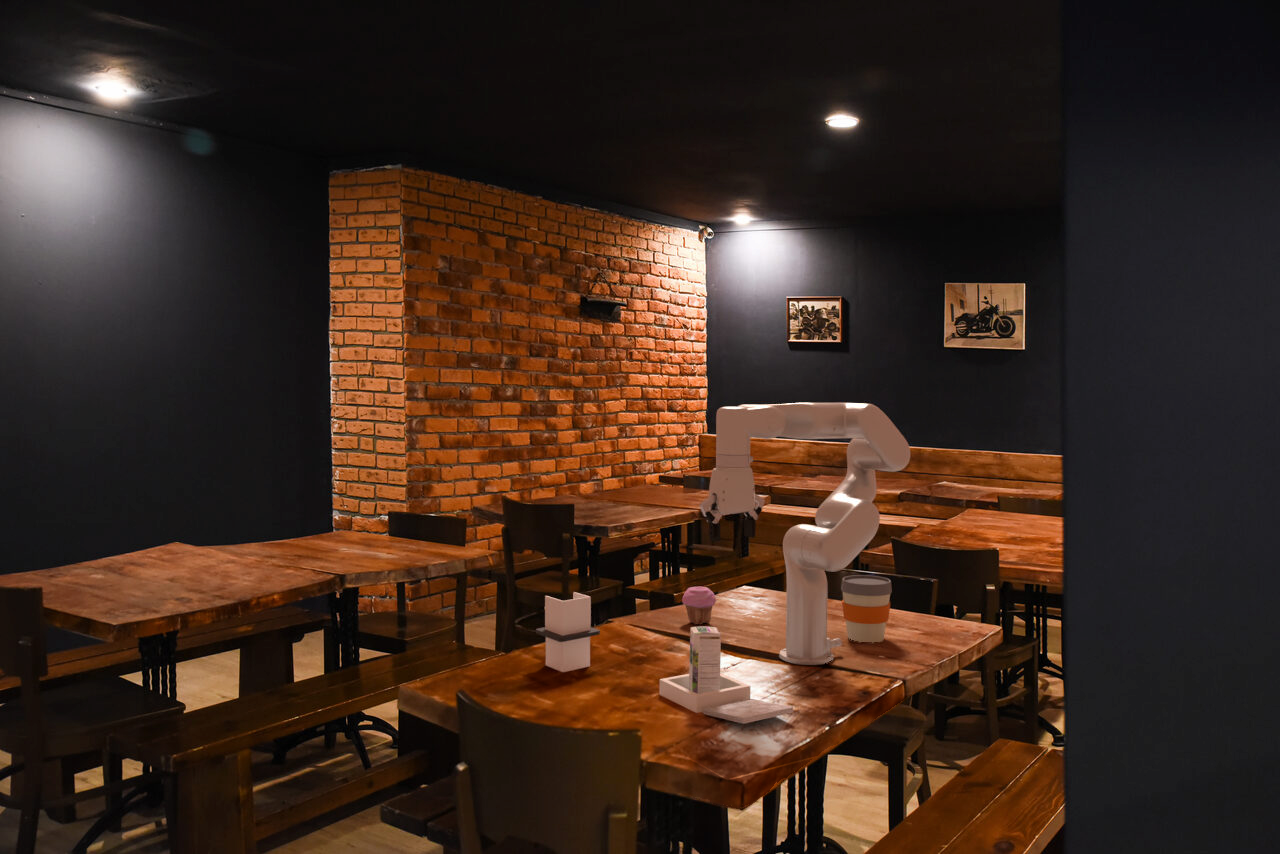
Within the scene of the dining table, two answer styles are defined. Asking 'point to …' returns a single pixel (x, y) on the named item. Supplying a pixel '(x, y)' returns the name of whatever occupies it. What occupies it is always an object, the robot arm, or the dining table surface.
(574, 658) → the white flanged box
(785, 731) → the dining table surface
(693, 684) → the syrup box
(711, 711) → the white square slab
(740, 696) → the white piece
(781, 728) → the dining table surface
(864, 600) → the reusable coffee cup
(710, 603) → the cupcake
